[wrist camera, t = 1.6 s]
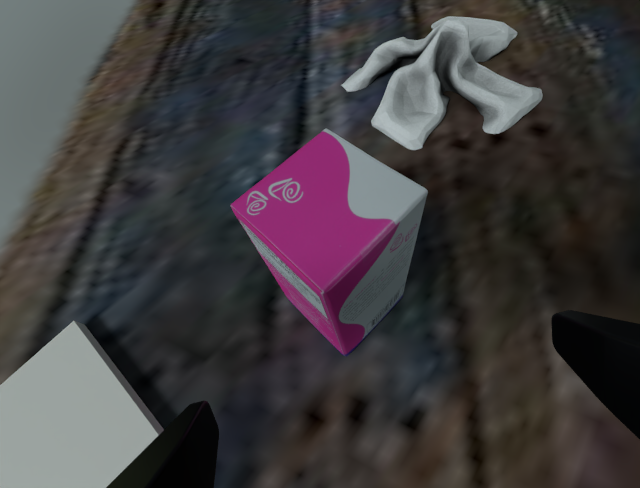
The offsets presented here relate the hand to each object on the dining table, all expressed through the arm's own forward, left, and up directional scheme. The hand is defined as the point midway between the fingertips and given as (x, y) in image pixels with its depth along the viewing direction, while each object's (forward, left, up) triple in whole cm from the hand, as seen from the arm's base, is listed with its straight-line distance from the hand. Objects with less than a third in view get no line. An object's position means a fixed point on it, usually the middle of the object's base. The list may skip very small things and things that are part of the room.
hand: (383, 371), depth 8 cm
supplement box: (+5, -4, -13) cm, 14 cm away
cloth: (+12, -27, -13) cm, 33 cm away
